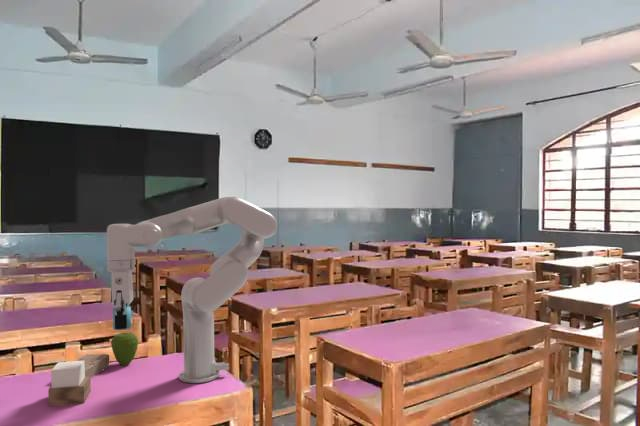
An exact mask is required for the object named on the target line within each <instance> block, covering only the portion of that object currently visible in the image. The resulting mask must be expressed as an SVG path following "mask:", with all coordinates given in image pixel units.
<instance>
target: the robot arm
mask: <svg viewBox="0 0 640 426" xmlns="http://www.w3.org/2000/svg"><path fill="white" fill-rule="evenodd" d="M227 224H232V225H234V226H236V227H238V228H240V229H241V235H240V236H241V237H240V239H239V241H238V242H237V243H235V245H234V246H233V247H231V248H229V250H228V251H227V252H225V253H224V254H223V255H221V256H220V257H218V258H217V259H216V260H214V262H213V263H212V264H211V267H210V268H209V276H208V277H207V278H203V277H192V278H190V279H188V280H187V281H186V282H185V283H184V285H183V287H182V289H181V295H180V296H181V297H180V298H181V299H180V301H181V308H182V317H183V319H182V320H183V329H182V330H183V333H182V335H183V370H182V371H180V373H179V375H178V378H179V380H180V381H181V382H184V383H187V384H200V383H207V382H210V381H211V382H212V381H213V380H216V379H217V378H219V376H220V371H227V370H228V371H229V370H230V363H225V362H224V361H223V362H216V358H215V320H214V319H215V318H214V317H215V315H214V311H216V310H217V309H220V307H221V306H223V305H224V304H225V303H226V302H227V301H229V299H231V298H232V297H233V296H234V295H235V294H236V293H238V292H239V290H241V289H242V287H244V285H245V284H246V282H247V281H248V276H249V270H248V269H249V268H250V267H251V266H252V265H253V264H254V263H255V262H256V261H257V260H258V259H259V257H260V256H261V254H262V252H263V249H264V245H265V240H266V239H269V238H271V237H273V236H274V235H275V234H276V232H277V229H278V222H277V219H276V218H275V216H274V215H272V214H271V213H270V212H269V211H266V210H264V209H262V208H260V207H258V206H256V205H254V204H252V203H250V202H248V201H246V200H244V199H242V198H241V197H238V196H224V197H220V198H217V199H213V200H210V201H208V202H207V201H206V202H203V203H200V204H197V205H194V206H190V207H186V208H182V209H180V210H177V211H174V212H171V213H168V214H164V215H159V216H156V217H154V218H153V217H152V218H150V219H146V220H143V221H140V222H138V223H136V224H132V223H131V224H130V223H112V224H109V225H108V226H107V227H106V251H107V252H106V254H107V258H106V259H107V263H106V264H107V272H109V273H110V272H111V303H112V305H113V306H114V308H115V329H126V328H127V315H125V314H126V306H129V307H130V304H131V303H132V302H133V301H134V281H133V272H132V271H135V270H136V266H135V265H136V261H135V258H136V256H135V248H148V249H149V248H155V247H156V246H158V245H160V243H161V241H162V240H166V239H169V238H172V237H173V238H174V237H177V236H187V235H195V234H198V233H202V232H206V231H207V230H210V229H211V230H212V229H214V228H217V227H220V226H223V225H227ZM126 330H127V329H126Z"/></svg>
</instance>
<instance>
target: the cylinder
mask: <svg viewBox="0 0 640 426" xmlns="http://www.w3.org/2000/svg"><path fill="white" fill-rule="evenodd" d="M125 315H127V328H126V329H115V307H113V308H112V327H113V328H112V329H113V330H114V331H124V330H129V329H131V328H132V306H130V305H129V306H126V314H125Z"/></svg>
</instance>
